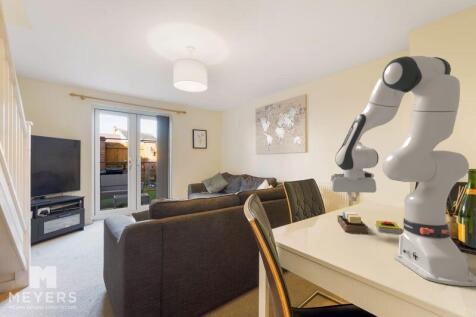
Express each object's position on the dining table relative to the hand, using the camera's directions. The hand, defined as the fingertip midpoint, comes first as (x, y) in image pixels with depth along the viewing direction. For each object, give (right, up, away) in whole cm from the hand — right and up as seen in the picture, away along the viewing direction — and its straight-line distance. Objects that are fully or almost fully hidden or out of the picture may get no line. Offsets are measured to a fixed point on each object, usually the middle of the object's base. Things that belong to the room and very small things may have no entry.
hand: (353, 200), depth 111 cm
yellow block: (0, -12, -1) cm, 12 cm away
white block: (+2, -12, +5) cm, 13 cm away
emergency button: (+18, -15, 0) cm, 23 cm away
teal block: (+3, -13, +11) cm, 17 cm away
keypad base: (+2, -15, +5) cm, 16 cm away
